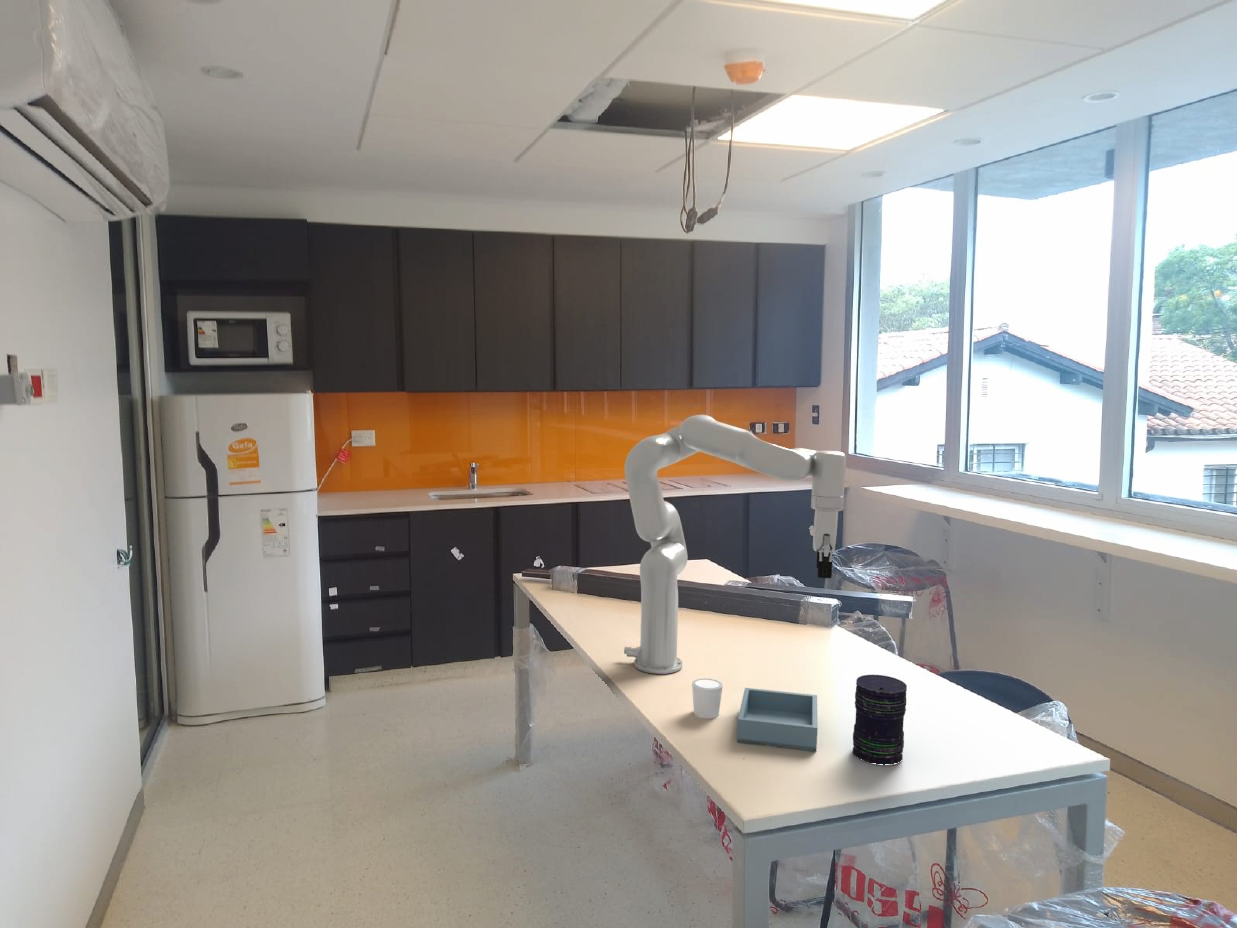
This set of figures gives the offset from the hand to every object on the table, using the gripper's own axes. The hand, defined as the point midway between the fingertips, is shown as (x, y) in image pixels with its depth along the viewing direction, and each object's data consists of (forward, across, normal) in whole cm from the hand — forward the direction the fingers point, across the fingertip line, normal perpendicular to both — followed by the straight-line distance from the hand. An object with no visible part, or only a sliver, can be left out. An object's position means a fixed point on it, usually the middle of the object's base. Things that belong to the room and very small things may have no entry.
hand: (823, 572), depth 200 cm
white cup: (+29, +22, -25) cm, 44 cm away
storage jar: (+29, +34, +11) cm, 46 cm away
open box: (+29, +27, -9) cm, 40 cm away
